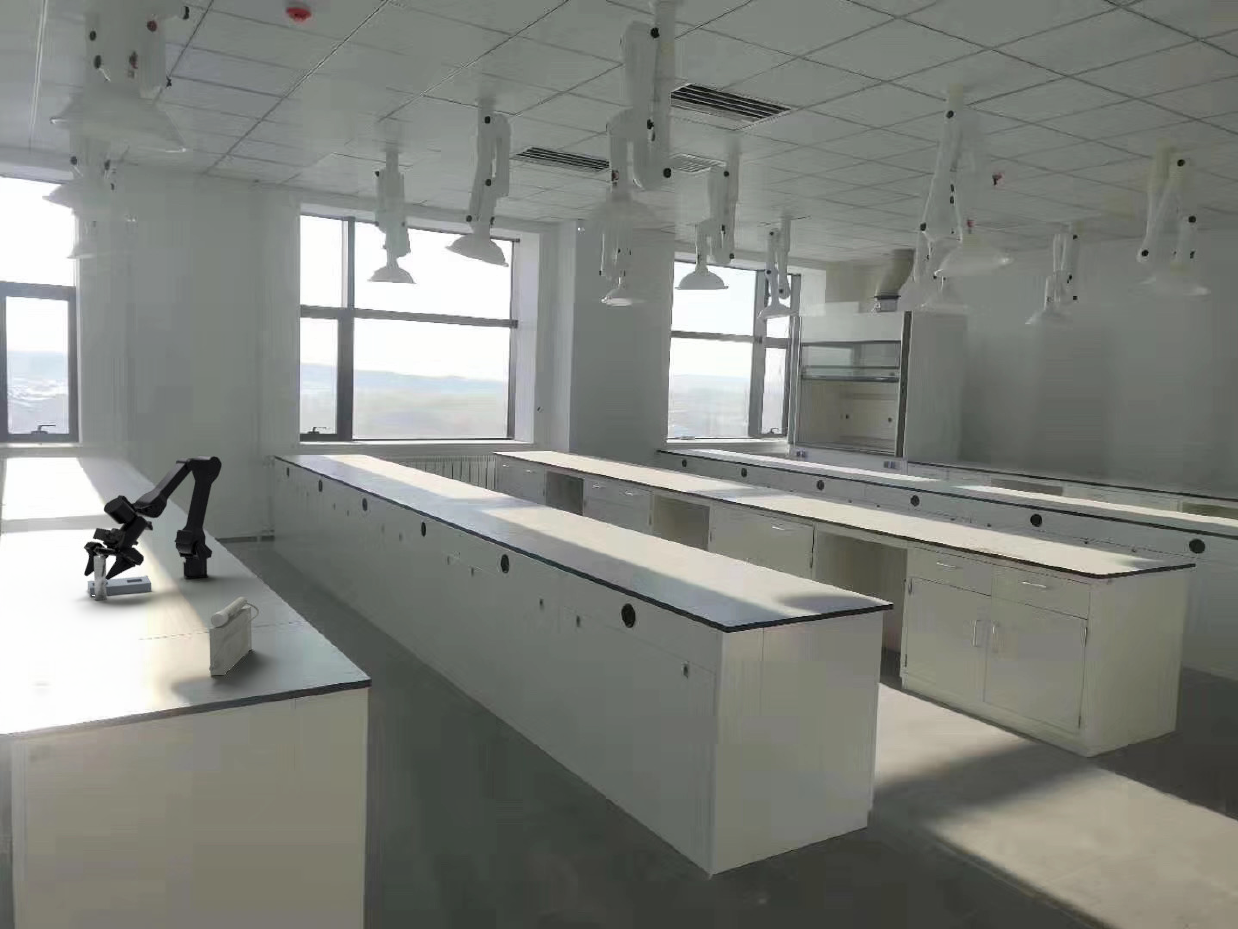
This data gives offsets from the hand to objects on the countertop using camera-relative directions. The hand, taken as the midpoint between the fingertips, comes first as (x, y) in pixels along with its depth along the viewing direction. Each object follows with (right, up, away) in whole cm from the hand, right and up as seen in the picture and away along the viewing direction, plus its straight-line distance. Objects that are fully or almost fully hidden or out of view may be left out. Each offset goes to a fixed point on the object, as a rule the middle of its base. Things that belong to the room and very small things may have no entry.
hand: (95, 577), depth 260 cm
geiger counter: (+61, -14, -51) cm, 81 cm away
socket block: (0, -5, +12) cm, 14 cm away
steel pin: (0, -6, +2) cm, 7 cm away
